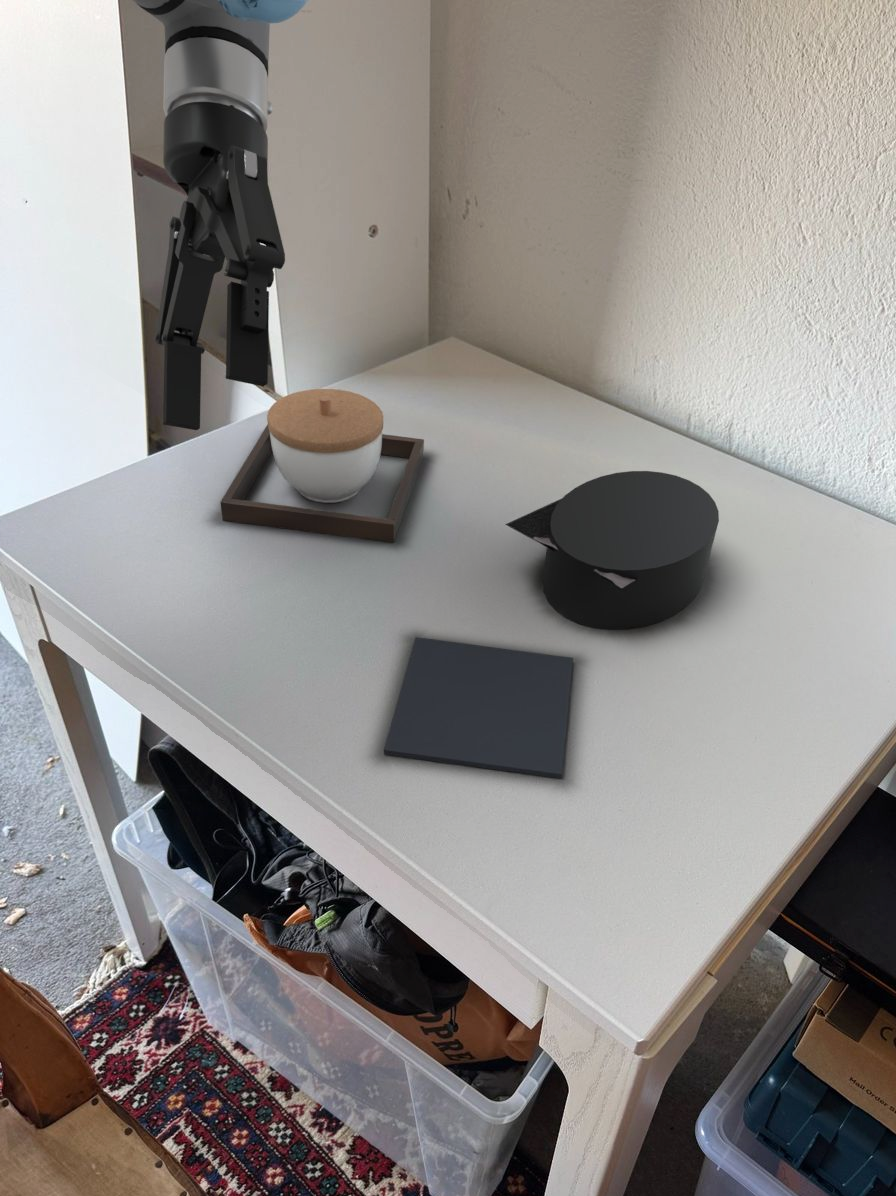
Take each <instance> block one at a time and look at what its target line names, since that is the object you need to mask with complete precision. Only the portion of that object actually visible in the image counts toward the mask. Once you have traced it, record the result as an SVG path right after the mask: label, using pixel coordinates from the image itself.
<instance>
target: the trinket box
mask: <svg viewBox="0 0 896 1196" xmlns="http://www.w3.org/2000/svg"><path fill="white" fill-rule="evenodd" d="M266 421H267V424H268V428H269V431H270V439H271V446H272V451H271V452H272V455H273V458H274V461H275V464H276V466H277V468H278V471H279V472H280V474H281V476H282V477H283V478H284V479H285V480H286V482H287V483H288V484H289V485H290V486H291V487H293V488H294V489H295V490H297V492H298V493H299V494H300V495H301V496H302V497H304V498H305V499H307V500H310V501H313V502H317V503H323V504H334V503H335V504H336V503H341V502H345V501H348V500H350V499H352V498H354V497H355V496H356V495H357V494H358V493H359V492H360V490H361V489H362V488H364V487H365V486H366V485H367V484H368V483H369V482H370V481H371V479H372V478H373V476H374V474H376V473H375V472H376V470H377V469H378V465H379V462H380V459H381V455H382V454H381V448H382V434H383V430H384V413H383V411H382V410H381V407H380V406H379V405H378V404H377V403H376V402H375V401H374V400H371V399H370V398H368V397H366V396H364V395H362V394H359V393H356V392H353V391H348V390H343V389H335V388H314V389H305V390H301V391H296V392H292V393H290V394H287V395H284V396H283V397H281V398H280V399H278V400H276V401H275V402H274V403H273V404H272V405H271V407H270V408H269V410H268V411H267V415H266Z"/></svg>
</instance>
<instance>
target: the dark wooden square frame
mask: <svg viewBox="0 0 896 1196" xmlns="http://www.w3.org/2000/svg"><path fill="white" fill-rule="evenodd" d="M271 452H273V451H272V446H271V439H270V431H269V428H268V423H267V425H266V426H265V428H264V429H263V431H262V433H261V434H260V435H259V438H258V439H257V441H256V443H254V446H253V448H251V450H250V452H249V454H248V456H247V458H246V459H245V460H244V462H243V464H242V466H241V467H240V469H239V470H238V472H237V473H236V475H235V477H234V479H233V480H232V482H231V484H230V485H229V487H228V488H227V490H226V492H225V494H224V495H223V497H222V498H221V500H220V503H219V504H220V511H221V518H222V521H225V522H234V523H242V524H249V525H257V526H265V527H273V528H279V529H285V530H286V529H287V530H293V531H294V530H295V531H302V532H310V533H319V534H325V535H334V536H339V537H341V536H342V537H347V538H355V539H364V540H372V541H379V542H387V543H394V542H395V540H396V537H397V534H398V531H399V529H400V525H401V523H402V519H403V517H404V515H405V511H406V509H407V506H408V503H409V500H410V498H411V494H412V492H413V488H414V485H415V483H416V479H417V478H418V477H417V476H418V474H419V471H420V469H421V465H422V463H423V459H424V456H425V455H424V454H425V439H423V438H415V437H408V436H400V435H393V434H385V433H382V448H381V455H383V456H390V457H398V458H405V459H408V460H407V464H406V466H405V468H404V472H403V474H402V477H401V480H400V482H399V485H398V488H397V490H396V494H395V496H394V498H393V502H392V504H391V506H390V509H389V512H388V515H387V518H383V517H375V516H369V515H368V516H367V515H359V514H351V513H344V512H336V511H328V510H321V509H314V508H306V507H298V506H291V505H282V504H275V503H267V502H260V501H251V500H246V499H245V497H246V496H247V494H248V493H249V491H250V488H252V485H253V483H254V482H255V480H256V478H257V477H258V475H259V473H260V472H261V470H262V469H263V466H264V465H265V463H266V462H267V460H268V458H269V456H270V454H271ZM244 499H245V500H244Z"/></svg>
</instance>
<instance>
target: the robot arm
mask: <svg viewBox="0 0 896 1196" xmlns="http://www.w3.org/2000/svg"><path fill="white" fill-rule="evenodd" d="M308 1H309V0H132V2H134V3H136V5H137V6H139V8H141V9H142V10H144V11H145V12H146V13H148V14H150V15H151V16H152V17H154V18H155V19H157V20H158V21H159V22H161V24H162V25H163V26H164V60H163V61H164V65H163V70H164V71H163V98H162V99H163V103H162V106H163V107H162V109H163V113H164V116H165V117H164V121H163V147H162V153H163V154H162V162H163V167H164V171H165V172H166V174H167V176H169V178H170V179H171V180H172V181H173V182H174V183H176V184H177V185H178V186H179V187H180V188H182V190H183V191H184V192H185V193H186V196H187V197H186V200H184V201H182V204H181V207H180V212H179V217H178V216H177V217H176V216H172V217H171V219H170V221H169V234H168V235H169V236H168V237H169V238H168V250H167V257H166V263H165V270H164V277H163V284H162V288H161V289H162V290H161V295H160V296H161V297H160V302H159V309H158V317H157V323H156V329H155V330H156V331H155V334H154V342H155V344H156V345H159V346H164V356H163V357H164V358H163V359H164V361H163V365H164V366H163V403H162V404H163V409H162V412H163V414H162V419H163V420H162V425H164V426H170V427H176V428H180V429H186V430H194V431H198V430H200V429H201V394H202V393H201V391H202V390H201V389H202V388H201V387H202V386H201V385H202V355H204V353H205V351H206V349H205V347H204V345H203V344H202V343H201V342H199V341H198V340H199V337H200V332H201V329H202V325H203V322H204V321H203V320H204V316H205V313H206V308H207V306H208V305H207V304H208V302H209V297H210V293H211V289H212V285H213V281H214V277H215V274H218V273H220V272H221V271H222V270H223V268H224V265H225V264H224V263H225V260H226V262H227V263H226V266H225V268H224V273H223V276H225V277H228V278H232V279H235V280H239V281H240V283H239V282H235V281H230V282H229V283H228V284H227V287H226V289H227V290H226V291H227V293H226V343H225V345H226V347H225V348H226V351H225V379H226V380H231V381H234V382H240V383H244V384H248V385H249V384H250V385H254V386H259V387H265V386H267V385H268V383H269V380H268V379H269V321H270V320H269V317H270V315H269V314H270V310H269V309H270V291H269V290H268V288H271V287H273V286H272V285H273V283H274V279H275V273H274V269H278V270H282V269H283V267H284V265H285V263H286V252H285V249H284V245H283V240H282V237H281V232H280V228H279V224H278V220H277V215H276V212H275V207H274V203H273V199H272V195H271V190H270V186H269V177H268V176H269V175H268V165H269V164H268V158H269V157H268V153H269V150H268V149H269V139H268V138H269V137H268V135H267V130H268V120H269V119H268V116H269V115H272V113H273V107H274V105H273V102H271V101H270V100H269V97H268V96H269V57H270V55H269V54H270V25H271V24H279V23H283V22H285V21H288V20H289V19H291V18H293V17H294V16H295V15H297V14H298V13H299V12H301V10H302V9H303V8H304V7H305V5H306V4H307V2H308ZM225 272H226V273H225ZM175 331H176V332H175Z"/></svg>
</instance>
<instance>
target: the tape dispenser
mask: <svg viewBox="0 0 896 1196" xmlns="http://www.w3.org/2000/svg"><path fill="white" fill-rule="evenodd" d="M719 514H720V513H719V508H718V506H717V504H716V501H715V499H714V498H713V497H712V496H711V494H710V493H709V492H708V491H707V490H705V489H704V488H703V487H701V486H700V485H698V484H697V483H695V482H693V481H691V480H689V479H687V478H684V477H681V476H678V475H676V474H670V473H667V472H661V471H653V470H652V471H651V470H628V471H621V472H620V471H619V472H615V473H610V474H605V475H601V476H599V477H595V478H593V479H590V480H588V481H585V482H583V483H581V484H579V485H578V486H576V487H574V488H573V489H571V490H570V491H569V492H567V493H566V494H565V495H563V496H562V497H561V498H560V499H557V500H555V501H553V502H551V503H549V504H546V505H544V506H541V507H540V508H537V509H536V510H533V511H531V512H529V513H527V514H524V515H523V516H520V517H518V518H516V519H513V520H512V521H509V522H507V523H504V525H505V526H507V527H509V528H510V529H512V530H515V531H516V532H518V533H520V534H522V535H523V536H525V537H527V538H529V539H531V540H533V541H534V542H535V543H538V544H540V545H542V546H544V547H545V548H546V553H545V561H544V567H543V575H542V591H543V594H544V596H545V598H546V600H547V603H549V604H550V605H549V606H551V607H552V608H553V609H554V610H555V612H557V613H559V614H560V615H561V616H563V617H564V618H565V619H567V620H569V621H572V622H574V623H576V624H579V625H581V626H585V627H589V628H593V629H599V630H600V629H601V630H609V631H616V630H617V631H618V630H619V631H620V630H632V629H637V628H644V627H648V626H652V625H655V624H658V623H661V622H663V621H665V620H668V619H669V618H671V617H674V616H676V615H677V614H679V613H680V612H681V611H683V610H684V609H685V608H687V607H688V606H689V605H690V604H691V603H692V602H693V601H694V600H695V598H697V596H698V595H699V592H700V591H701V590H702V586H703V583H704V580H705V576H706V572H707V568H708V566H709V565H708V564H709V560H710V556H711V554H712V553H711V552H712V549H713V545H714V541H715V539H716V538H715V537H716V533H717V529H718V527H719V522H720V515H719Z"/></svg>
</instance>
